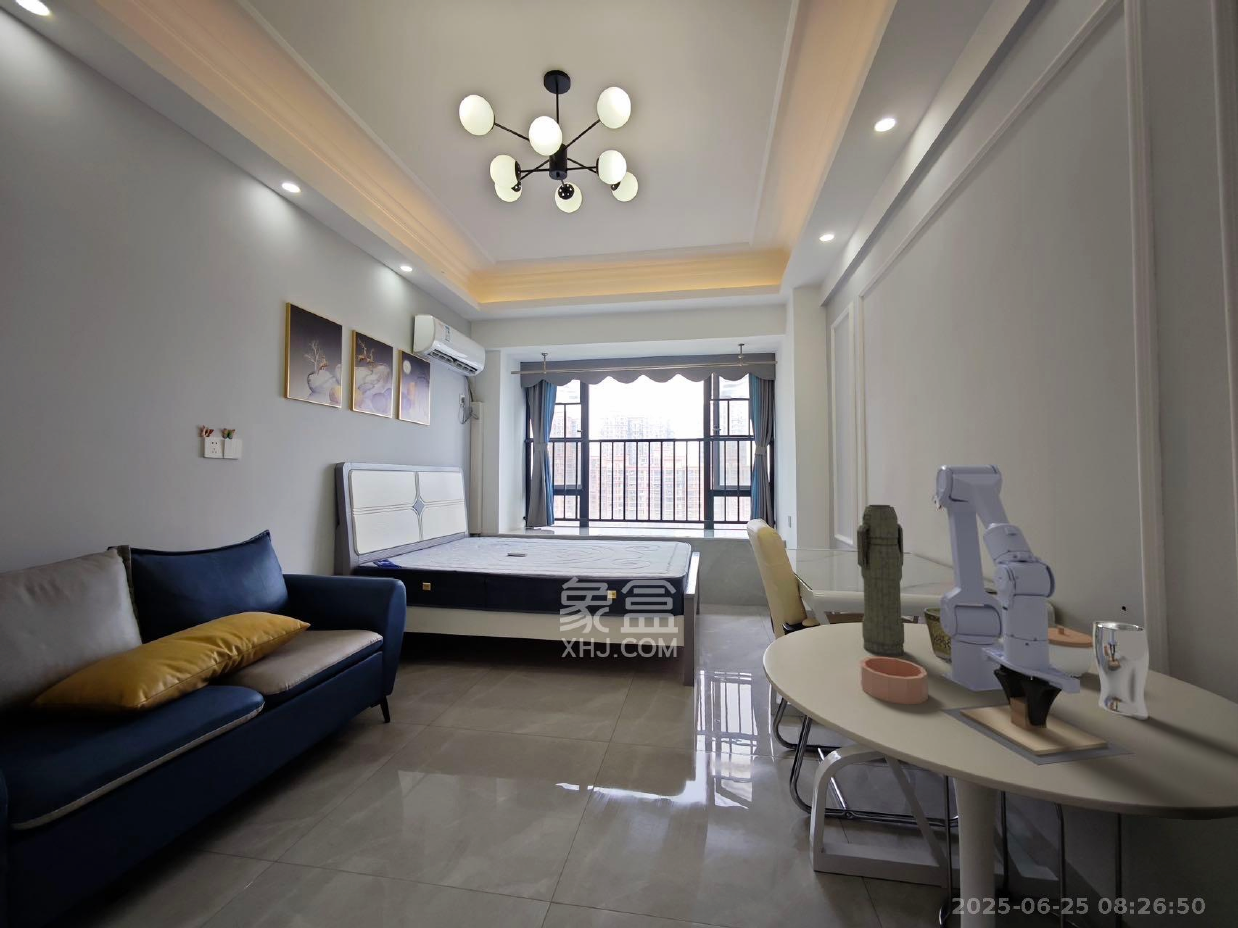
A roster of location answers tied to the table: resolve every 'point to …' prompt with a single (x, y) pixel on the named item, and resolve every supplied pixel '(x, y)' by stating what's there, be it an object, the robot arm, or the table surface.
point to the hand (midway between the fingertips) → (1028, 720)
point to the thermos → (881, 580)
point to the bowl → (894, 680)
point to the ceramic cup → (937, 633)
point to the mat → (1042, 758)
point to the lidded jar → (1070, 651)
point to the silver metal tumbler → (1121, 666)
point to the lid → (1032, 729)
